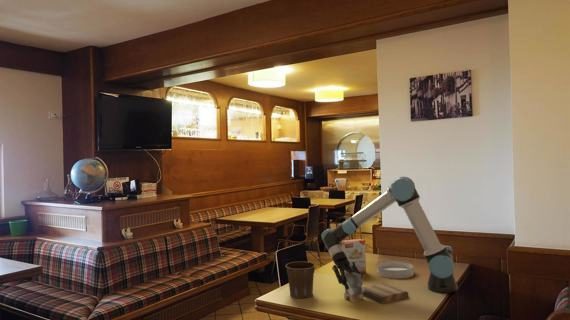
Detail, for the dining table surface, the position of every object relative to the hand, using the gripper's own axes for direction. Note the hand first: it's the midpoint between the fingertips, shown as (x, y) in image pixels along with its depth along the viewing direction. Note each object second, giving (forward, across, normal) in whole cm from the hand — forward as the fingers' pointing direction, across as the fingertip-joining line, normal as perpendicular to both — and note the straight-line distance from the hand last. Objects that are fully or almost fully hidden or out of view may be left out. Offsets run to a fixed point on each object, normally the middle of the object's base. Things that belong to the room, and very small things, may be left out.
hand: (357, 293), depth 202 cm
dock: (+3, -16, -2) cm, 16 cm away
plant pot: (-15, +19, -20) cm, 31 cm away
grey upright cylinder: (0, 0, -5) cm, 5 cm away
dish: (-16, -49, -23) cm, 56 cm away
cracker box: (-27, -29, -33) cm, 52 cm away
